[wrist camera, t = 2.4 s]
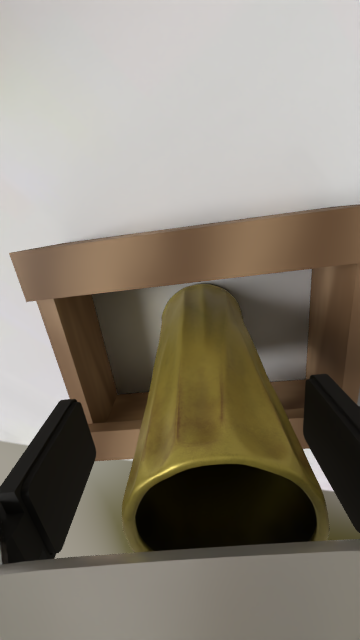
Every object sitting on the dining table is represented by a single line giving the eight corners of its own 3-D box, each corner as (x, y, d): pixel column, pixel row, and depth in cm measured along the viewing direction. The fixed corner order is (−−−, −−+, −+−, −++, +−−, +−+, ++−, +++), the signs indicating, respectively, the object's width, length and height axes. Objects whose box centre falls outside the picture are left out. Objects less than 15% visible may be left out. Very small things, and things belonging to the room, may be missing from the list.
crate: (331, 207, 16) (400, 200, 11) (317, 388, 21) (360, 445, 16) (63, 243, 18) (9, 253, 12) (109, 404, 23) (83, 461, 17)
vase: (213, 266, 18) (275, 394, 5) (257, 331, 20) (392, 560, 6) (146, 312, 20) (51, 508, 6) (192, 369, 21) (193, 619, 8)
